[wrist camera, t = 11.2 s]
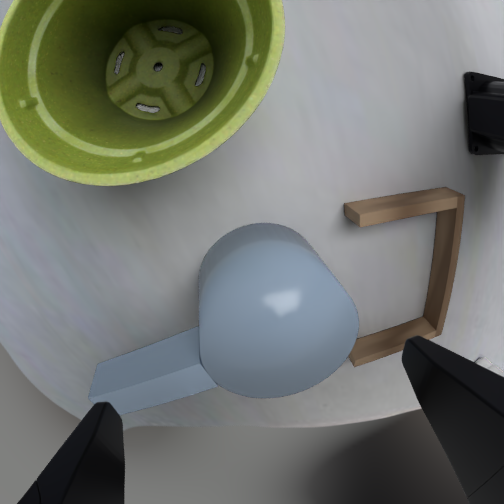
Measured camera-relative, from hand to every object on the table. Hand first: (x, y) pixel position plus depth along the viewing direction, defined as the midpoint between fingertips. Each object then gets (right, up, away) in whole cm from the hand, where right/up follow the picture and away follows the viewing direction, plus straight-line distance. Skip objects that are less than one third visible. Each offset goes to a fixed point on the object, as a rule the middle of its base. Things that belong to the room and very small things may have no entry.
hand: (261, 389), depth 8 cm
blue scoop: (-3, 0, +13) cm, 13 cm away
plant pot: (-5, +14, +6) cm, 16 cm away
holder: (+11, +2, +14) cm, 18 cm away
